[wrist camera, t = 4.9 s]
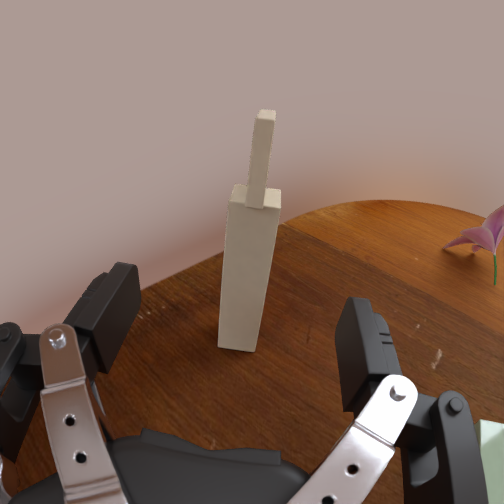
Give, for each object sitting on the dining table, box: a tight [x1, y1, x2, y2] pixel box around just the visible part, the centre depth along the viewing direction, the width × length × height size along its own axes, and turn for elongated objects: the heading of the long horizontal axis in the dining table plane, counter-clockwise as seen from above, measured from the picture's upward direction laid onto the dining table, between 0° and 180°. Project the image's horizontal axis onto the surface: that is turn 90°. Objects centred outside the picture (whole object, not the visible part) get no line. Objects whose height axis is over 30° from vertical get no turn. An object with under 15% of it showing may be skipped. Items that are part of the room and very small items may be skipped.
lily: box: [442, 205, 504, 285], centre depth 30 cm, size 12×12×10 cm
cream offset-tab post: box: [218, 109, 281, 352], centre depth 17 cm, size 2×4×14 cm, turn 176°
